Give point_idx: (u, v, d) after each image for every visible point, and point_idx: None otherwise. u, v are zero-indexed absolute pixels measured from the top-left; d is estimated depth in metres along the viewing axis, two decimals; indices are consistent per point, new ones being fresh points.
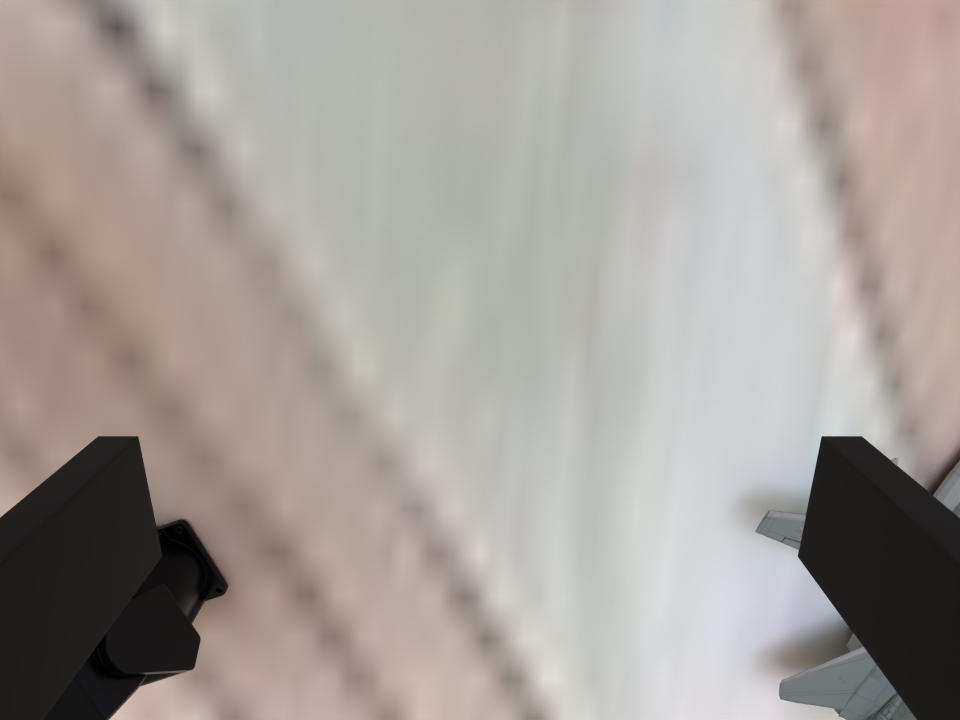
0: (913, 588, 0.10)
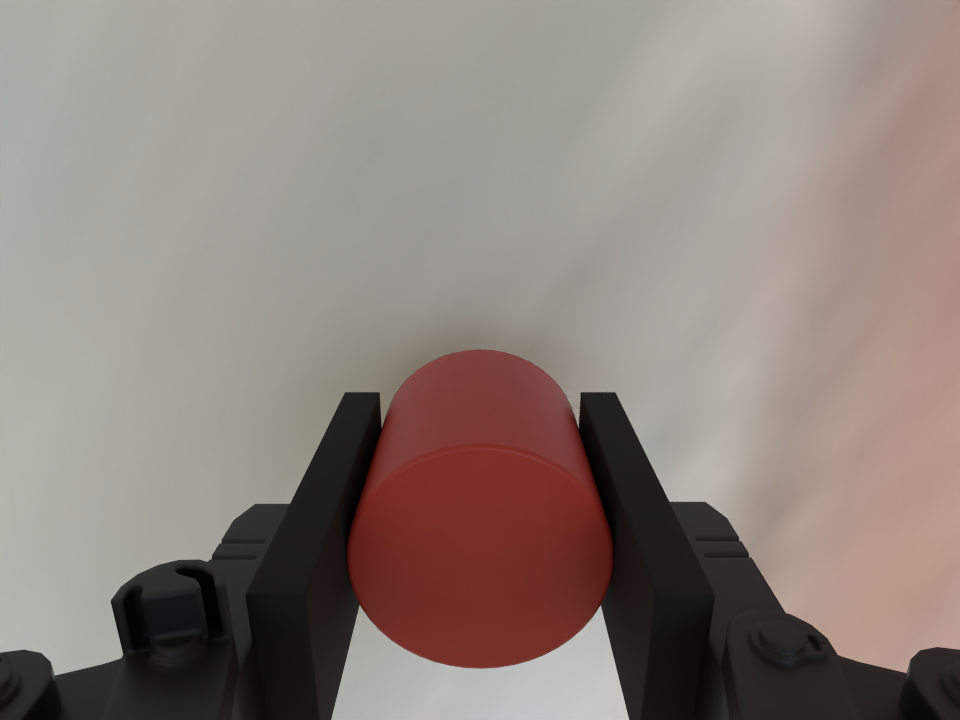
0: None
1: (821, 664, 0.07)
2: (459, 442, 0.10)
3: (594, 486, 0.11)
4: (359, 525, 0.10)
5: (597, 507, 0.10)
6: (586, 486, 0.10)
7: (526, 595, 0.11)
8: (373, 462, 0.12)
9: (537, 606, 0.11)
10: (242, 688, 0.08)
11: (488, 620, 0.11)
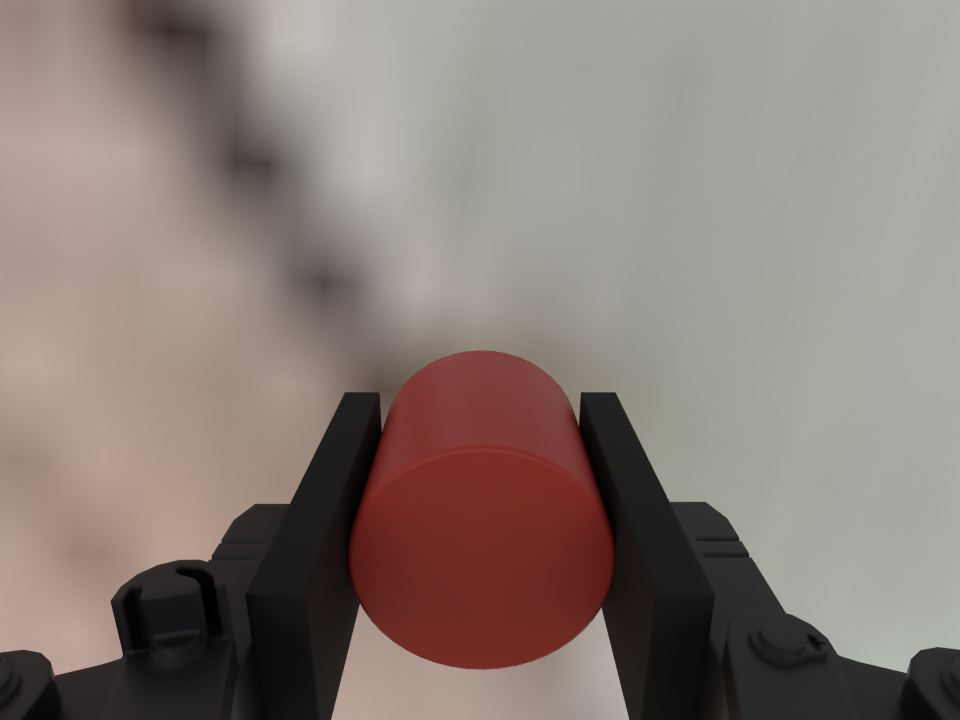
0: None
1: (821, 664, 0.07)
2: (461, 444, 0.10)
3: (595, 487, 0.11)
4: (361, 526, 0.10)
5: (598, 508, 0.10)
6: (587, 487, 0.10)
7: (527, 596, 0.11)
8: (374, 463, 0.12)
9: (538, 607, 0.11)
10: (242, 688, 0.08)
11: (489, 621, 0.11)
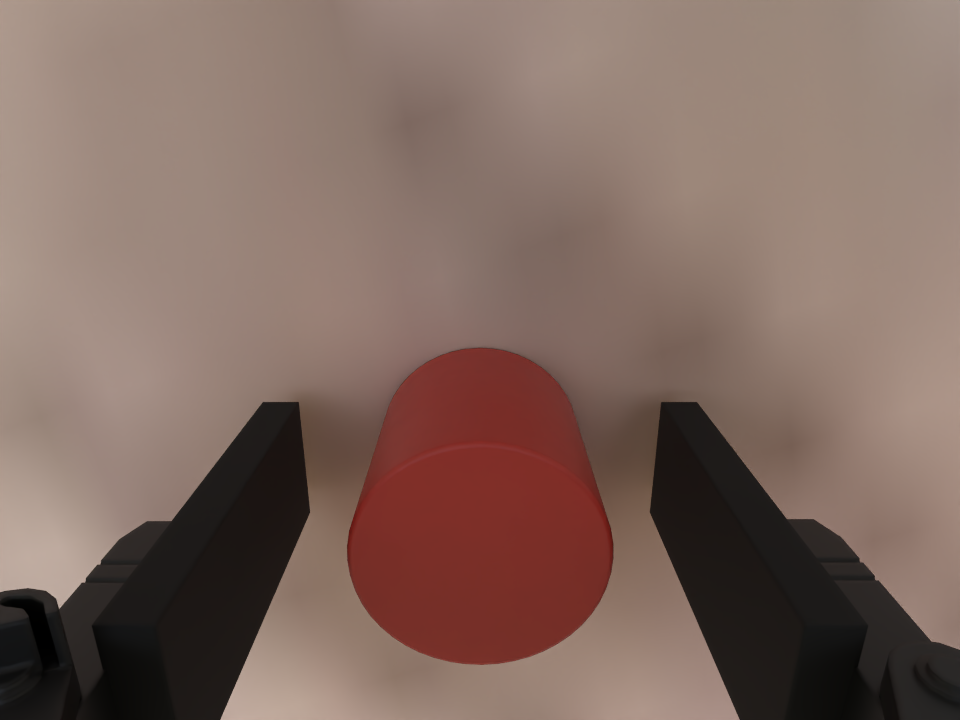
0: (703, 526, 0.11)
1: None
2: (460, 439, 0.10)
3: (593, 483, 0.11)
4: (360, 522, 0.11)
5: (596, 504, 0.10)
6: (585, 482, 0.10)
7: (525, 591, 0.11)
8: (374, 459, 0.12)
9: (537, 602, 0.11)
10: (87, 718, 0.08)
11: (488, 616, 0.11)
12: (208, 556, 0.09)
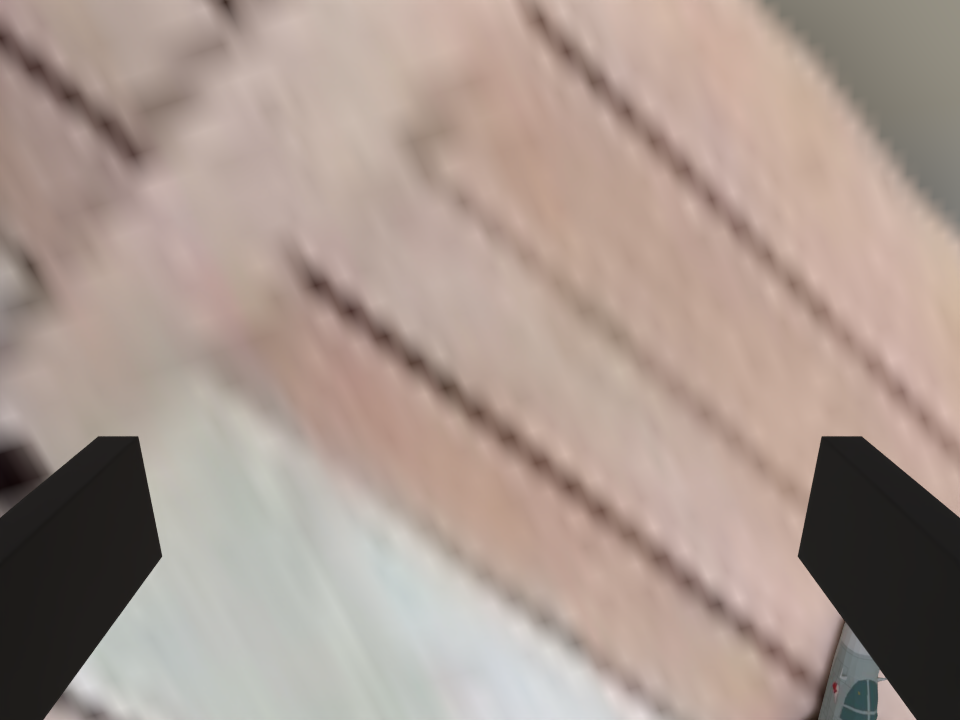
0: (914, 588, 0.10)
1: None
2: None
3: None
4: None
5: None
6: None
7: None
8: None
9: None
10: None
11: None
12: None
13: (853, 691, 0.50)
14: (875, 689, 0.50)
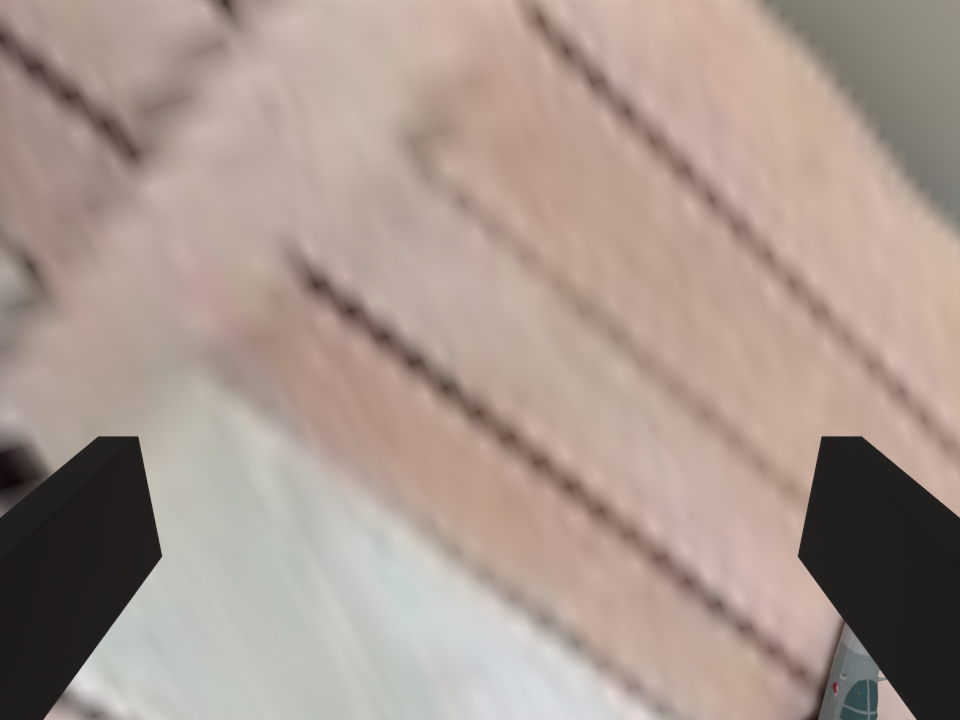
0: (914, 588, 0.10)
1: None
2: None
3: None
4: None
5: None
6: None
7: None
8: None
9: None
10: None
11: None
12: None
13: (853, 691, 0.50)
14: (875, 689, 0.50)
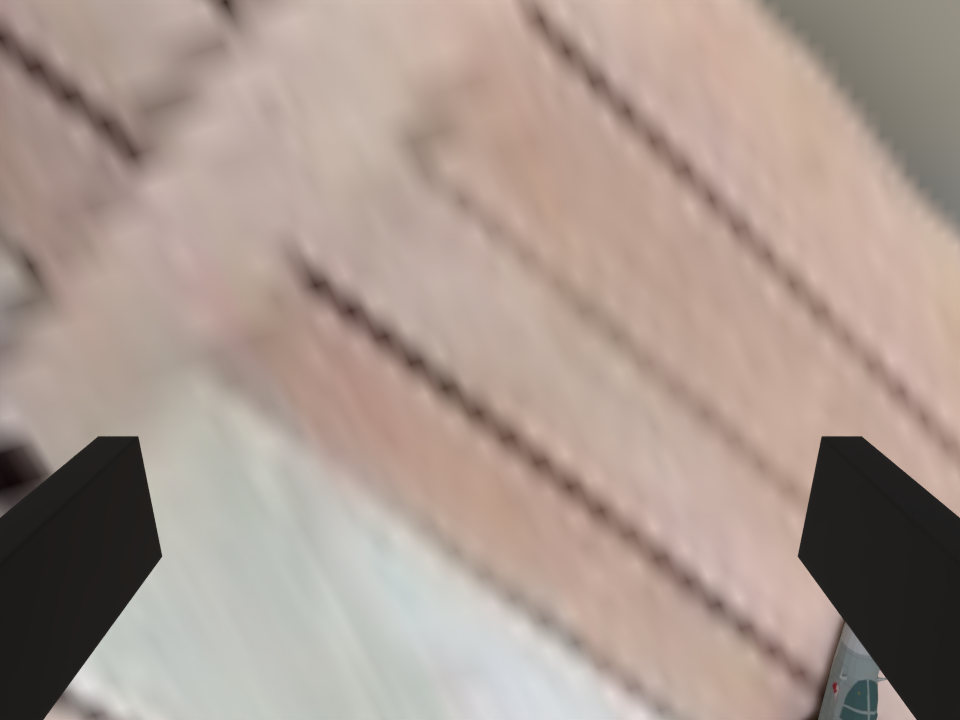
0: (914, 588, 0.10)
1: None
2: None
3: None
4: None
5: None
6: None
7: None
8: None
9: None
10: None
11: None
12: None
13: (853, 691, 0.50)
14: (875, 689, 0.50)
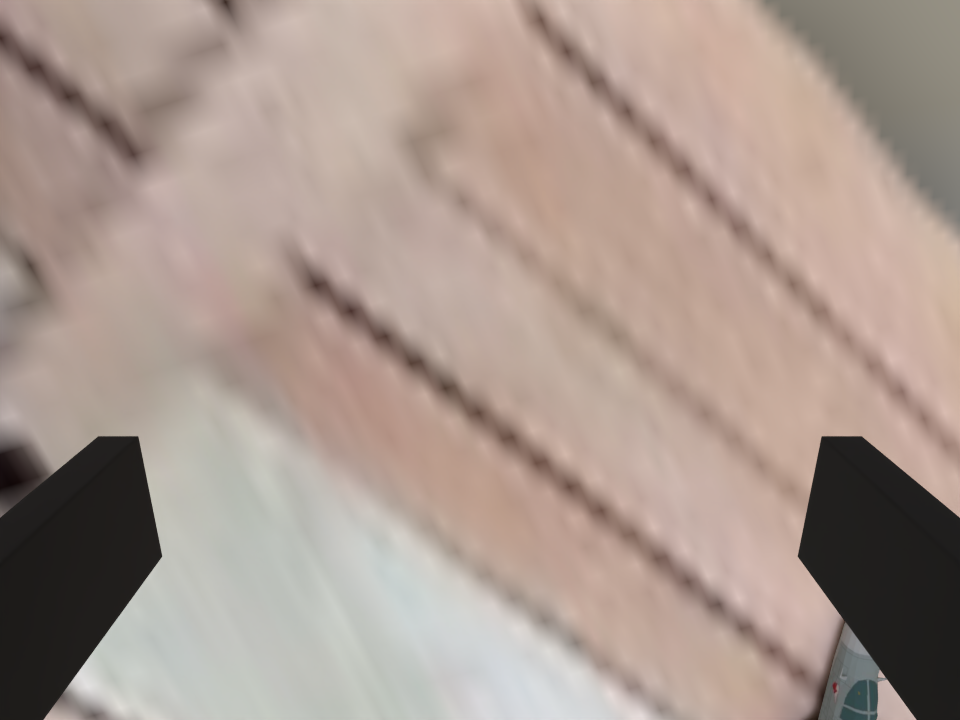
0: (914, 588, 0.10)
1: None
2: None
3: None
4: None
5: None
6: None
7: None
8: None
9: None
10: None
11: None
12: None
13: (853, 691, 0.50)
14: (875, 689, 0.50)
